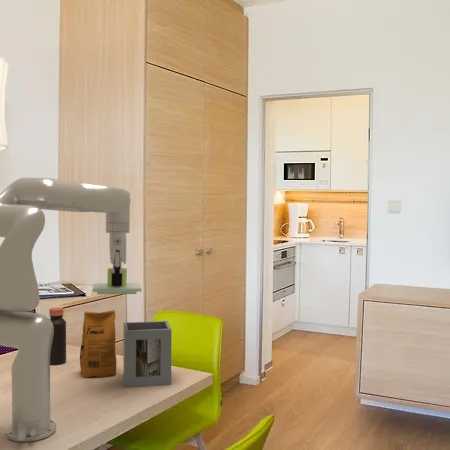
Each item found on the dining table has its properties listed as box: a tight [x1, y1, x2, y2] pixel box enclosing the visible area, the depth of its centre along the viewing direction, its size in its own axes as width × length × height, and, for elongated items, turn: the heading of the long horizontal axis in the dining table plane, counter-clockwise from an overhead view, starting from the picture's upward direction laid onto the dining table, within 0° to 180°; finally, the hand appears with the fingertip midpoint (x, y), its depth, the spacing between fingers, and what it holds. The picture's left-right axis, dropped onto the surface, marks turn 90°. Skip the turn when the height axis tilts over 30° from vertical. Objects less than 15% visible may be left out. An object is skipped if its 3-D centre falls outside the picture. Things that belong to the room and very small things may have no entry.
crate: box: [122, 320, 172, 388], centre depth 189 cm, size 12×15×18 cm
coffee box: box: [136, 329, 160, 377], centre depth 189 cm, size 9×6×16 cm
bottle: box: [49, 307, 67, 366], centre depth 206 cm, size 7×7×20 cm
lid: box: [91, 267, 142, 295], centre depth 181 cm, size 12×15×8 cm
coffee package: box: [79, 309, 117, 379], centre depth 195 cm, size 10×12×22 cm
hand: (116, 284), depth 181 cm, fingers closed on lid, 3 cm apart
